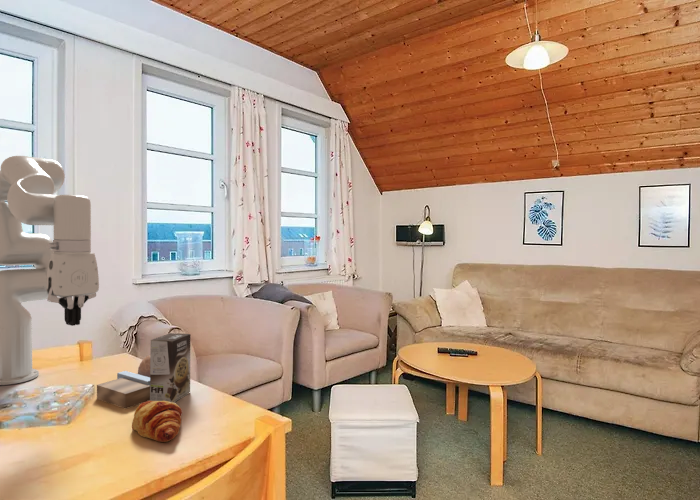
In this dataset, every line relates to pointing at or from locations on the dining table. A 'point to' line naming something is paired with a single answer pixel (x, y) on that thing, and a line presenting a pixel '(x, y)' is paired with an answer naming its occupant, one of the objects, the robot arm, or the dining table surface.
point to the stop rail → (134, 377)
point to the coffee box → (170, 367)
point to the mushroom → (145, 367)
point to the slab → (123, 392)
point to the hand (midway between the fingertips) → (72, 324)
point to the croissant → (157, 420)
